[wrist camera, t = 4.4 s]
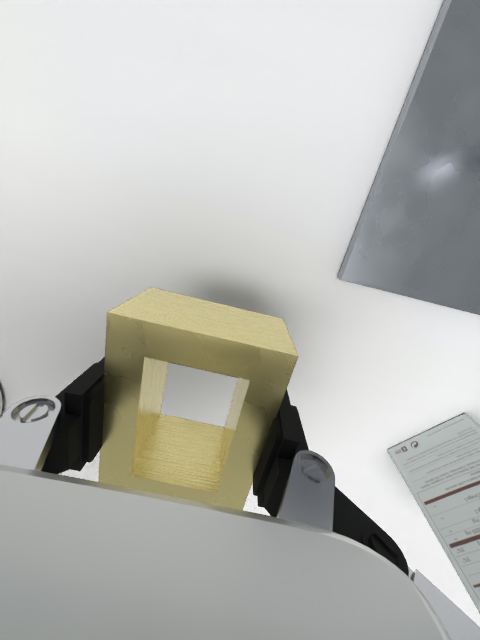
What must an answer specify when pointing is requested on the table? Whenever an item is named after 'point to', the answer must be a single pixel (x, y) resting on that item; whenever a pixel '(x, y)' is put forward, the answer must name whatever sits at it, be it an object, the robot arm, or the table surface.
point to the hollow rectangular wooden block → (181, 434)
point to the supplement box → (448, 490)
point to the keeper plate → (429, 178)
